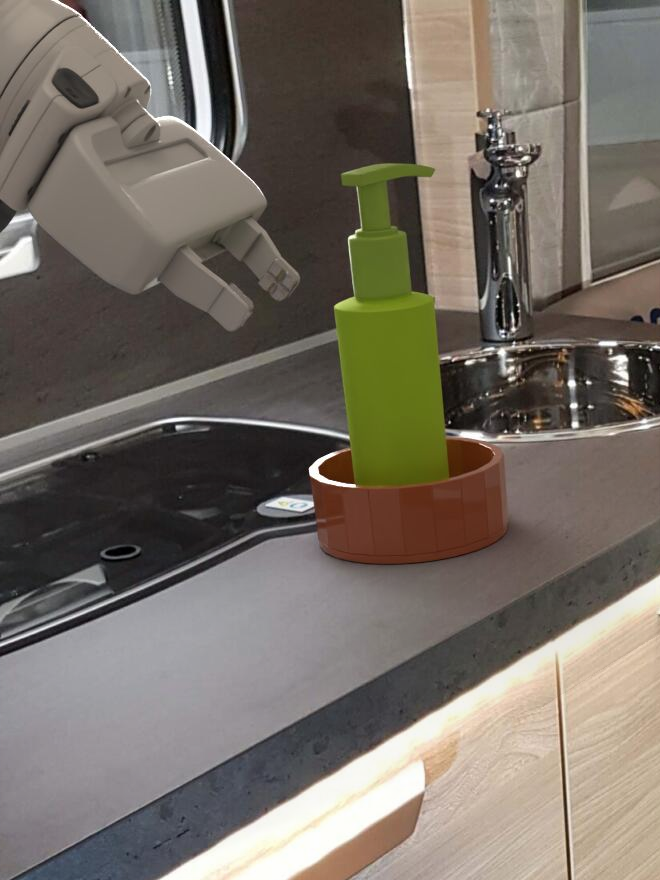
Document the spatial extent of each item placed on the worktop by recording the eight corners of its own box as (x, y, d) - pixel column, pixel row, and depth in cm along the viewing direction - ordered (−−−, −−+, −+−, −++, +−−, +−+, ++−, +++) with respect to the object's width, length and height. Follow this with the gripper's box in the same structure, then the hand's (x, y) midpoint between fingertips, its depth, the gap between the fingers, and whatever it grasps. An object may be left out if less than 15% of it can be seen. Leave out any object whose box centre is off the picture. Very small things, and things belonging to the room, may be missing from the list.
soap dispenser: (484, 519, 98) (457, 159, 86) (399, 547, 94) (359, 175, 83) (426, 504, 101) (393, 157, 90) (342, 530, 98) (297, 172, 87)
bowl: (296, 565, 94) (285, 490, 92) (346, 508, 104) (337, 439, 101) (489, 562, 92) (483, 485, 89) (521, 504, 102) (517, 433, 99)
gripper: (118, 153, 98) (288, 314, 102) (-26, 193, 81) (183, 384, 85) (172, 66, 95) (345, 236, 98) (33, 89, 78) (247, 292, 82)
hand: (269, 305), depth 92 cm, fingers open, 8 cm apart
